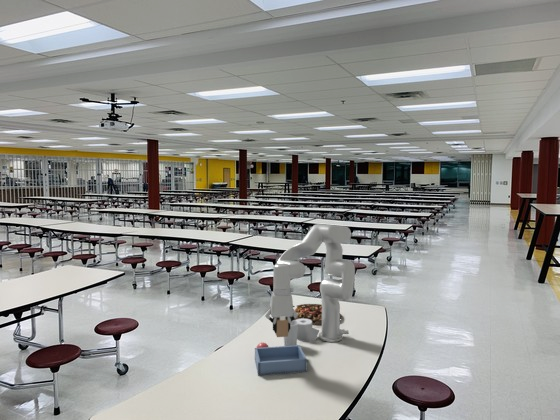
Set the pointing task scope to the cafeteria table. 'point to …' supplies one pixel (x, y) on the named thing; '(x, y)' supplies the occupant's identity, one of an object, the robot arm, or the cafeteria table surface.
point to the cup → (292, 334)
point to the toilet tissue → (306, 330)
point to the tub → (280, 360)
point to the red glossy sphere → (262, 345)
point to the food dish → (310, 313)
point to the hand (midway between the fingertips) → (281, 331)
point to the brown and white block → (282, 327)
